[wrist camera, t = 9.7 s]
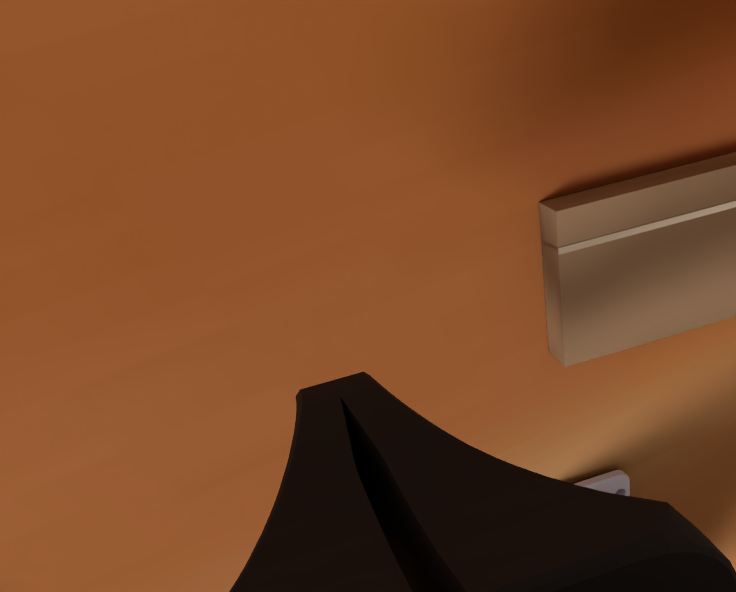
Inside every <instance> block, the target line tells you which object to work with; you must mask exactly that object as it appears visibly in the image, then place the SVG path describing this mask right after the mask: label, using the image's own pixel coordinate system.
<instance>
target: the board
mask: <svg viewBox="0 0 736 592" xmlns="http://www.w3.org/2000/svg"><path fill="white" fill-rule="evenodd" d="M539 212H540V227H541V242H542V256H543V271H544V286H545V300H546V315H547V330H548V344H549V353H550V354H551V355H552V356H554V357H555V358H556V359H557V360H558V361H559V362H560V363H561V364H562V365H563V366H564V367H567V366H571V365H574V364H577V363H581V362H584V361H588V360H591V359H594V358H598V357H601V356H604V355H608V354H611V353H615V352H618V351H621V350H625V349H628V348H631V347H635V346H638V345H641V344H645V343H648V342H652V341H655V340H658V339H662V338H665V337H668V336H672V335H675V334H679V333H682V332H685V331H689V330H692V329H695V328H699V327H702V326H705V325H709V324H712V323H716V322H719V321H722V320H726V319H729V318H732V317H736V152H734V153H730V154H726V155H722V156H718V157H714V158H710V159H706V160H702V161H698V162H694V163H691V164H687V165H683V166H679V167H675V168H671V169H667V170H663V171H659V172H655V173H651V174H648V175H644V176H640V177H636V178H632V179H628V180H624V181H620V182H616V183H612V184H608V185H604V186H601V187H597V188H593V189H589V190H585V191H581V192H577V193H573V194H569V195H565V196H561V197H558V198H554V199H550V200H546V201H542V202H539Z"/></svg>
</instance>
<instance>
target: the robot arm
mask: <svg viewBox="0 0 736 592" xmlns="http://www.w3.org/2000/svg"><path fill="white" fill-rule="evenodd" d="M296 402H297V412H296V422H295V429H294V435H293V440H292V445H291V450H290V454H289V459H288V463H287V466H286V469H285V473H284V476H283V479H282V482H281V486H280V489H279V492H278V495H277V498H276V500H275V503H274V506H273V508H272V511H271V513H270V516H269V518H268V520H267V523H266V525H265V527H264V530H263V532H262V534H261V536H260V538H259V540H258V542H257V544H256V546H255V548H254V550H253V552H252V554H251V556H250V558H249V560H248V562H247V563H246V565H245V567H244V569H243V571H242V572H241V574H240V576H239V577H238V579H237V581H236V582H235V584H234V585H233V587H232V588H231V590H230V591H229V592H736V572H735V570H734V568H733V566H732V564H731V562H730V561H729V560H728V559H727V558H726V557H725V556H724V555H723V554H722V552H721V551H720V550H719V549H718V548H717V547H716V546H715V545H714V544H713V543H712V542H711V541H710V540H709V539H708V538H707V537H706V536H705V535H704V534H703V533H702V532H701V531H700V530H698V529H697V528H696V527H695V526H694V525H693V524H692V523H691V522H690V521H688V520H687V519H686V518H685V517H684V516H682V515H681V514H680V513H679V512H678V511H676V510H675V509H674V508H673V507H672V506H671V505H670V504H668V503H667V502H661V501H655V500H649V499H643V498H637V497H631V496H630V479H629V477H628V476H627V475H626V474H625V472H623V471H622V470H615V471H612V472H608V473H605V474H602V475H599V476H596V477H593V478H590V479H587V480H584V481H581V482H578V483H575V484H571V483H567V482H563V481H560V480H557V479H553V478H550V477H546V476H543V475H541V474H538V473H535V472H532V471H529V470H526V469H523V468H521V467H518V466H515V465H512V464H510V463H507V462H505V461H502V460H500V459H498V458H495V457H493V456H491V455H489V454H487V453H485V452H482V451H480V450H478V449H476V448H474V447H472V446H470V445H468V444H466V443H464V442H462V441H461V440H459V439H457V438H455V437H454V436H452V435H450V434H449V433H447V432H445V431H444V430H442V429H440V428H439V427H437V426H436V425H434V424H433V423H431V422H429V421H428V420H427V419H425V418H424V417H422V416H421V415H419V414H418V413H416V412H415V411H414V410H412V409H411V408H409V407H408V406H407V405H405V404H404V403H403V402H401V401H400V400H399V399H397V398H396V397H395V396H394V395H392V394H391V393H390V392H388V391H387V390H386V389H385V388H384V387H382V386H381V385H380V384H379V383H378V382H377V381H376V380H374V379H373V378H372V377H371V376H370V375H368V374H367V373H365V372H361V373H357V374H354V375H350V376H347V377H343V378H340V379H336V380H333V381H329V382H326V383H322V384H318V385H315V386H311V387H308V388H304V389H301V390H300V391H299V392H298V394H297V395H296ZM617 490H618V491H617ZM616 491H617V492H616Z"/></svg>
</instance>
